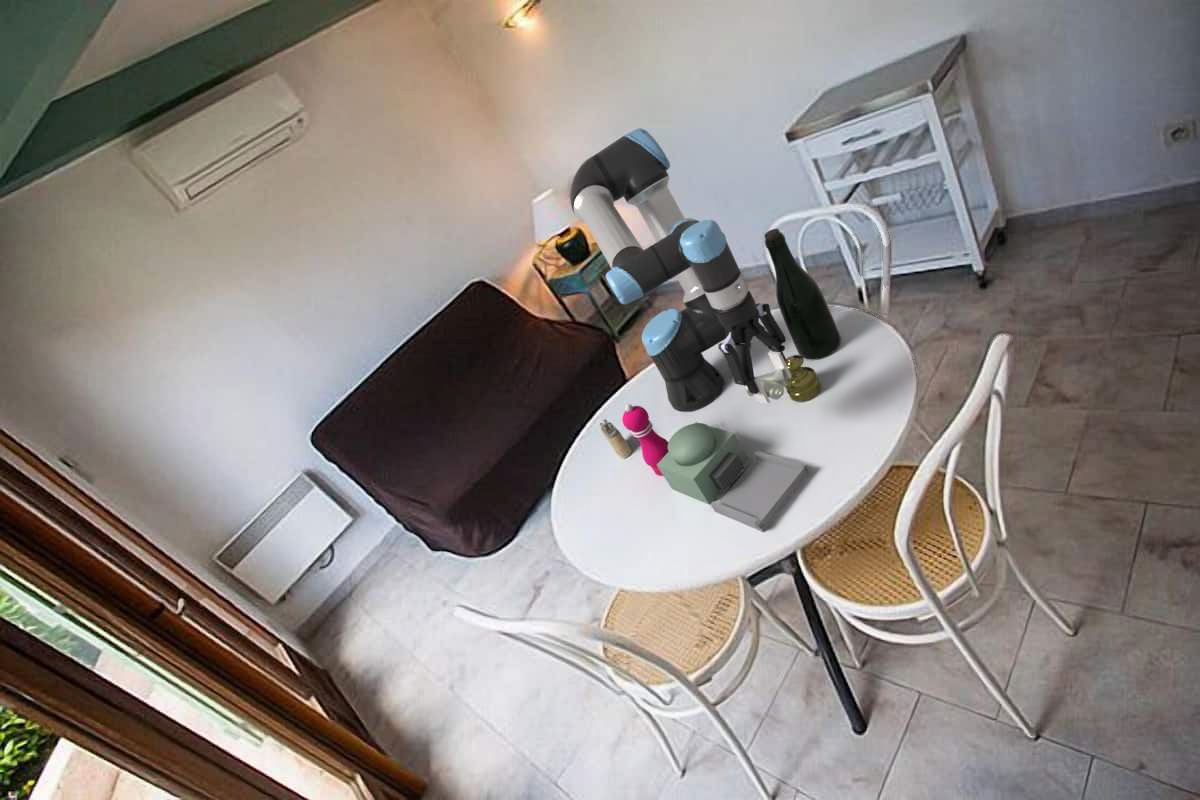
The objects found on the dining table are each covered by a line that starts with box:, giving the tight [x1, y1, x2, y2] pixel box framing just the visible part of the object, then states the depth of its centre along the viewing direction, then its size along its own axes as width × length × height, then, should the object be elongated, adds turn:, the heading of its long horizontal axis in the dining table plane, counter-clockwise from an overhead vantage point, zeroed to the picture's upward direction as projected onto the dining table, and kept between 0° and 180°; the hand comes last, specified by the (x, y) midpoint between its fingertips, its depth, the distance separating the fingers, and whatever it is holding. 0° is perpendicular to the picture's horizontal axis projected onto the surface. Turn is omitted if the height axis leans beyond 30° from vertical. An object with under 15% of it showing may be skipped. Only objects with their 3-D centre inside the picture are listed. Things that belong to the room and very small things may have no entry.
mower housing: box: [657, 421, 750, 506], centre depth 139 cm, size 14×14×11 cm
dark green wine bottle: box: [764, 228, 842, 360], centre depth 149 cm, size 10×10×33 cm
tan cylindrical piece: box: [599, 418, 633, 459], centre depth 164 cm, size 7×4×10 cm, turn 21°
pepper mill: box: [621, 403, 669, 477], centre depth 148 cm, size 7×7×20 cm
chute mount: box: [710, 450, 811, 533], centre depth 130 cm, size 13×16×2 cm
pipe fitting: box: [744, 368, 788, 401], centre depth 132 cm, size 8×4×7 cm
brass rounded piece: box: [784, 354, 822, 403], centre depth 145 cm, size 7×7×10 cm
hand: (774, 388), depth 132 cm, fingers closed on pipe fitting, 7 cm apart
